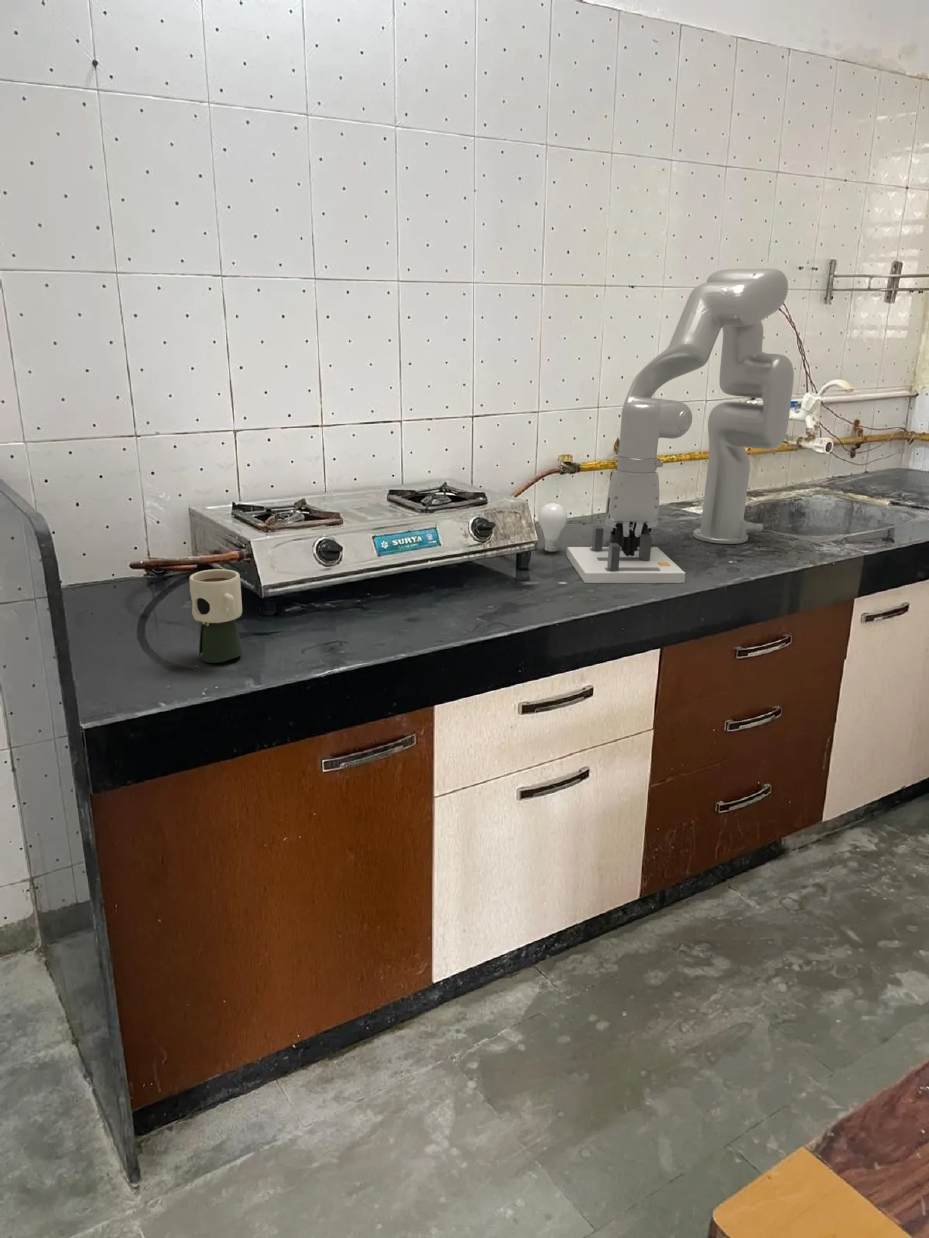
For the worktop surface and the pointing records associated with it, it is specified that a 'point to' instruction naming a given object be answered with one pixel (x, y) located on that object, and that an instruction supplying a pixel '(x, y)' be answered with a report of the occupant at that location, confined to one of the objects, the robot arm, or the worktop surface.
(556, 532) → the lightbulb
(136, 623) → the worktop surface
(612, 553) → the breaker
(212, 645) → the character mug
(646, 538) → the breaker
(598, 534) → the breaker
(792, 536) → the worktop surface
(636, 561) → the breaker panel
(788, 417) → the robot arm
